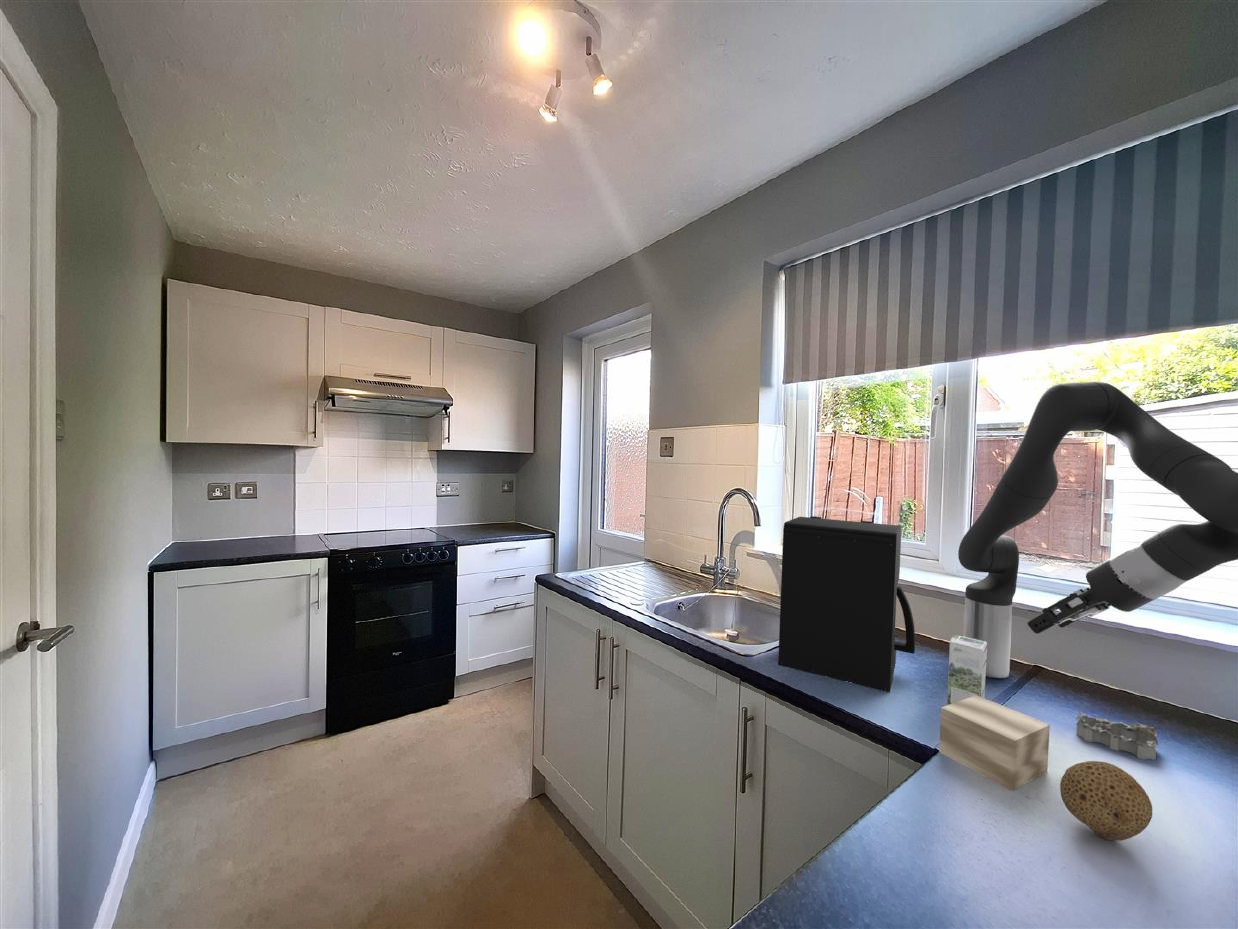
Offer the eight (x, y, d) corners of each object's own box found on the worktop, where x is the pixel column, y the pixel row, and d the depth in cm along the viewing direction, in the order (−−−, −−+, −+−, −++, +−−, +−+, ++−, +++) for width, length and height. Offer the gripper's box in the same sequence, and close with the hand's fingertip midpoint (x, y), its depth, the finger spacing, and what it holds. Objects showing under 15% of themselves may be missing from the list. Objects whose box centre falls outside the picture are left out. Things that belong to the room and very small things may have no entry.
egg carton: (1159, 751, 90) (1160, 728, 90) (1155, 766, 85) (1156, 743, 85) (1079, 724, 98) (1080, 704, 98) (1071, 737, 93) (1073, 715, 93)
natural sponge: (1128, 873, 62) (1132, 794, 62) (1043, 823, 70) (1046, 753, 70) (1163, 852, 66) (1167, 777, 65) (1078, 807, 74) (1082, 740, 74)
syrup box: (984, 711, 102) (988, 640, 101) (980, 722, 97) (983, 648, 97) (951, 701, 105) (954, 633, 105) (945, 711, 101) (949, 640, 101)
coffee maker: (914, 667, 122) (921, 525, 122) (911, 698, 106) (918, 534, 105) (796, 641, 138) (801, 514, 137) (777, 665, 121) (783, 521, 120)
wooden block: (974, 738, 92) (976, 695, 92) (1047, 772, 82) (1049, 725, 82) (939, 753, 87) (941, 707, 87) (1012, 792, 77) (1014, 741, 77)
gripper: (1132, 554, 85) (1047, 603, 95) (1092, 559, 78) (1006, 611, 89) (1176, 593, 80) (1082, 640, 91) (1137, 602, 74) (1040, 651, 84)
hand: (1044, 625), depth 90 cm, fingers open, 8 cm apart
